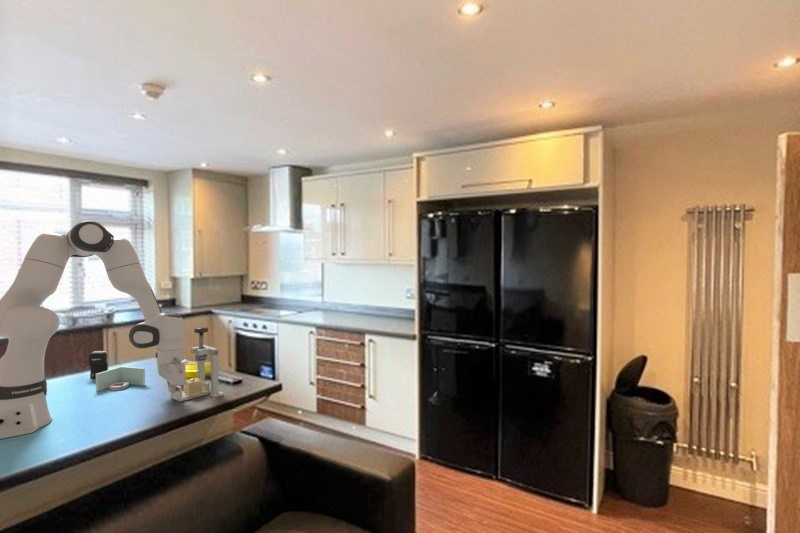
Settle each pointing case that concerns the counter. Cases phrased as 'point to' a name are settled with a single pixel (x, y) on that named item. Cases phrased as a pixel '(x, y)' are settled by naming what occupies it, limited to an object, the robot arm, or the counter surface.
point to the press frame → (214, 368)
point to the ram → (201, 342)
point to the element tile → (195, 369)
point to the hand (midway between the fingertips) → (172, 392)
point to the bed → (182, 396)
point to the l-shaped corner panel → (120, 378)
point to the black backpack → (98, 362)
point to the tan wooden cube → (193, 386)
